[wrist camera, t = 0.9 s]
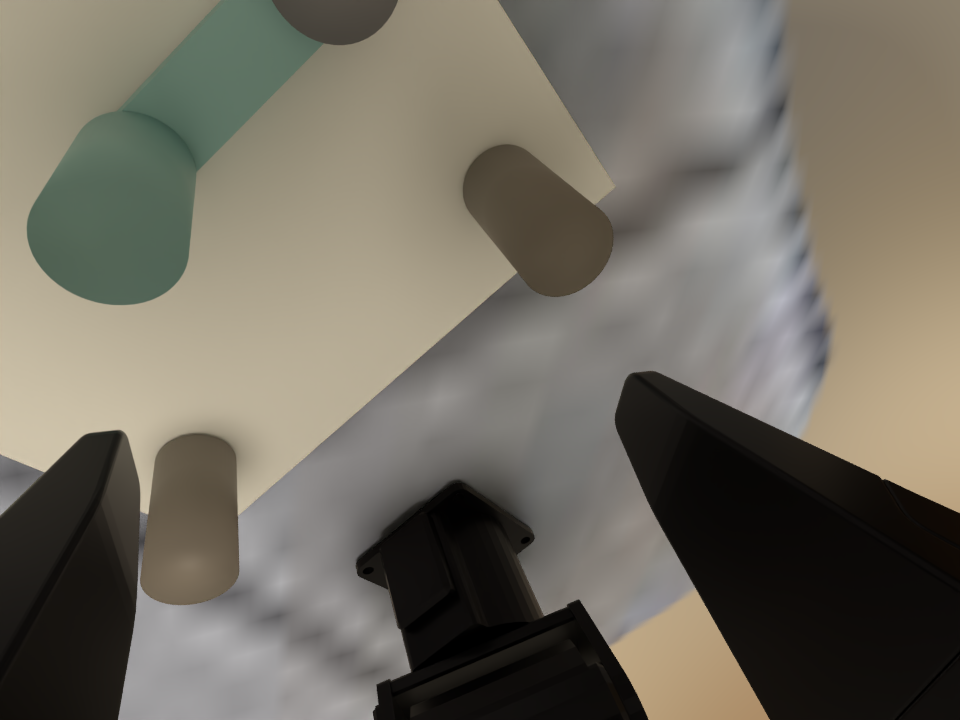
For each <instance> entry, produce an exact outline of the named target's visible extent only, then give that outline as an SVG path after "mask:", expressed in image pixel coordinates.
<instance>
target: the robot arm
mask: <svg viewBox="0 0 960 720" xmlns="http://www.w3.org/2000/svg"><path fill="white" fill-rule="evenodd" d="M615 425H616V429H617V432H618V434H619V436H620V439H621V441H622V443H623V446H624V448H625V450H626V453H627V455H628V457H629V459H630V462H631V464H632V466H633V469H634V471H635V473H636V476H637V478H638V480H639V482H640V485H641V487H642V489H643V492H644V494H645V496H646V498H647V501H648V503H649V505H650V507H651V509H652V511H653V513H654V515H655V517H656V519H657V520H658V522H659V524H660V526H661V528H662V530H663V531H664V533H665V535H666V537H667V538H668V540H669V542H670V544H671V545H672V547H673V549H674V551H675V553H676V554H677V556H678V558H679V560H680V561H681V563H682V565H683V567H684V568H685V570H686V572H687V574H688V576H689V577H690V579H691V581H692V583H693V584H694V586H695V588H696V590H697V591H698V593H699V595H700V596H701V598H702V600H703V602H704V603H705V606H706V607H707V609H708V611H709V613H710V614H711V616H712V618H713V620H714V621H715V623H716V625H717V627H718V629H719V630H720V632H721V634H722V636H723V637H724V639H725V641H726V643H727V645H728V646H729V648H730V650H731V652H732V653H733V655H734V657H735V659H736V660H737V662H738V663H739V666H740V667H741V669H742V671H743V673H744V674H745V676H746V678H747V680H748V682H749V683H750V685H751V687H752V688H753V691H754V692H755V694H756V696H757V698H758V699H759V701H760V703H761V705H762V706H763V708H764V710H765V712H766V714H767V715H768V717H769V719H770V720H960V513H958V512H956V511H954V510H951V509H949V508H947V507H944V506H943V505H940V504H938V503H936V502H934V501H931V500H929V499H927V498H925V497H923V496H920V495H918V494H916V493H914V492H912V491H910V490H907V489H905V488H903V487H901V486H899V485H897V484H895V483H893V482H890V481H888V480H886V479H884V480H882V479H881V478H880V477H879V476H877V475H875V474H873V473H871V472H869V471H867V470H865V469H862V468H860V467H858V466H856V465H854V464H852V463H850V462H848V461H845V460H843V459H841V458H839V457H837V456H835V455H833V454H830V453H828V452H826V451H824V450H822V449H820V448H818V447H816V446H813V445H811V444H809V443H807V442H805V441H803V440H801V439H799V438H796V437H794V436H792V435H790V434H788V433H786V432H784V431H781V430H779V429H777V428H775V427H773V426H771V425H769V424H767V423H764V422H762V421H760V420H758V419H756V418H754V417H752V416H750V415H747V414H745V413H743V412H741V411H739V410H737V409H735V408H732V407H730V406H728V405H726V404H724V403H722V402H720V401H718V400H715V399H713V398H711V397H709V396H707V395H705V394H703V393H701V392H698V391H696V390H694V389H692V388H690V387H688V386H686V385H683V384H681V383H679V382H677V381H675V380H673V379H671V378H669V377H666V376H664V375H662V374H660V373H658V372H655V371H645V372H636V373H632V374H630V375H629V376H628V377H627V378H626V380H625V383H624V386H623V389H622V393H621V396H620V399H619V403H618V406H617V409H616V413H615ZM458 493H459V494H458ZM456 494H457V495H456ZM139 526H140V483H139V478H138V474H137V470H136V466H135V462H134V459H133V455H132V451H131V447H130V444H129V440H128V437H127V435H126V434H125V432H123V431H121V430H111V431H102V432H93V433H88V434H85V435H83V436H82V437H81V438H79V439H78V440H77V441H76V442H75V443H74V444H73V445H72V446H71V447H70V448H69V449H68V450H67V451H66V452H65V453H64V454H63V455H62V456H61V457H60V458H59V459H58V460H57V461H56V462H55V463H54V464H53V465H52V466H51V467H50V468H49V469H48V470H47V471H46V472H45V473H44V474H43V475H42V476H41V477H39V478H38V479H37V480H36V481H35V482H34V483H33V484H32V485H31V486H30V487H29V488H28V489H27V490H26V491H25V492H24V493H23V494H22V495H21V496H20V497H19V498H18V499H17V500H16V501H15V502H14V503H13V504H12V505H11V506H10V507H9V508H8V509H7V510H6V511H5V512H4V513H3V514H2V515H1V516H0V720H118V716H119V710H120V704H121V699H122V693H123V687H124V681H125V675H126V670H127V664H128V658H129V652H130V646H131V640H132V635H133V628H134V621H135V614H136V600H137V581H138V554H139ZM534 539H535V538H534V534H533V532H532V530H531V529H530V528H529V527H528V526H526V525H525V524H523V523H522V522H520V521H519V520H517V519H516V518H514V517H513V516H511V515H510V514H508V513H507V512H505V511H504V510H502V509H501V508H499V507H498V506H496V505H495V504H493V503H492V502H490V501H489V500H488V499H486V498H485V497H483V496H482V495H480V494H479V493H477V492H476V491H474V490H473V489H471V488H470V487H468V486H467V485H465V484H463V483H455V484H452V485H451V486H449V487H448V488H447V489H445V490H444V491H443V492H442V493H440V494H439V495H438V496H437V497H436V498H434V499H433V500H432V501H431V502H429V503H428V504H427V505H426V506H425V507H423V508H422V509H421V510H420V511H418V512H417V513H416V514H415V515H414V516H412V517H411V518H410V519H409V520H407V521H406V522H405V523H404V524H403V525H401V526H400V527H399V528H398V529H396V530H395V531H394V532H393V533H392V534H390V535H389V536H388V537H387V538H385V539H384V540H383V541H382V542H381V543H379V544H378V545H377V546H376V547H374V548H373V549H372V550H371V551H370V552H368V553H367V554H366V555H365V556H363V557H362V558H361V559H360V560H359V561H358V562H357V563H356V569H357V574H358V576H359V577H361V578H363V579H366V580H368V581H370V582H372V583H375V584H377V585H379V586H381V587H384V588H386V589H388V590H389V594H390V598H391V602H392V606H393V610H394V614H395V618H396V623H397V626H398V628H399V629H401V633H402V637H403V641H404V645H405V649H406V653H407V657H408V661H409V665H410V669H411V673H409V674H406V675H404V676H401V677H399V678H397V679H394V680H392V681H391V680H390V679H388V680H386V681H383V682H381V683H379V684H377V694H378V703H379V705H377V706H375V707H376V708H375V710H374V711H373V716H374V720H648V717H647V715H646V713H645V711H644V708H643V706H642V704H641V702H640V700H639V698H638V696H637V694H636V692H635V690H634V688H633V686H632V684H631V682H630V681H629V679H628V677H627V675H626V673H625V672H624V670H623V669H622V667H621V665H620V664H619V662H618V661H617V659H616V657H615V656H614V654H613V653H612V651H611V649H610V648H609V646H608V645H607V643H606V641H605V640H604V638H603V637H602V635H601V633H600V632H599V630H598V629H597V627H596V625H595V624H594V622H593V621H592V619H591V617H590V616H589V614H588V613H587V611H586V609H585V608H584V606H583V605H582V603H581V601H580V600H579V599H578V600H576V601H574V602H571V603H569V604H567V607H565V608H563V609H561V610H558V611H556V612H554V613H551V614H549V615H546V616H544V615H543V613H542V611H541V608H540V606H539V604H538V602H537V600H536V597H535V595H534V593H533V591H532V589H531V586H530V584H529V582H528V580H527V577H526V575H525V573H524V571H523V569H522V566H521V564H520V562H519V560H518V558H517V554H518V553H519V552H521V551H522V550H523V549H525V548H526V547H527V546H528V545H530V544H531V543H532V542H533V541H534Z"/></svg>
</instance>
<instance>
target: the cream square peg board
mask: <svg viewBox="0 0 960 720" xmlns="http://www.w3.org/2000/svg"><path fill="white" fill-rule="evenodd" d="M219 2H220V0H0V454H1V455H3V456H6V457H8V458H11V459H13V460H16V461H18V462H21V463H23V464H26V465H28V466H30V467H33V468H35V469H38V470H40V471H43V472H46V471H47V470H48V469H49V468H50V467H51V466H52V465H53V464H54V463H55V462H56V461H57V460H58V459H59V458H60V457H61V456H62V455H63V454H64V453H65V452H66V451H67V450H68V449H69V448H70V447H71V446H72V445H73V444H74V443H75V442H76V441H77V440H78V439H79V438H81V437H82V436H83V435H85V434H88V433H93V432H102V431H111V430H121V431H123V432H125V434H126V435H127V437H128V440H129V444H130V447H131V451H132V455H133V459H134V462H135V466H136V470H137V474H138V478H139V483H140V511H141V512H144V513H146V514H148V520H147V529H146V537H145V545H144V553H143V561H142V570H141V578H140V583H141V587H142V589H143V590H144V592H145V593H146V594H147V595H148V596H150V597H151V598H153V599H155V600H157V601H159V602H162V603H166V604H172V605H190V604H197V603H201V602H205V601H208V600H211V599H213V598H215V597H217V596H220V595H221V594H223V593H224V592H226V591H227V590H228V589H229V588H230V587H232V585H233V584H234V583H235V581H236V580H237V578H238V575H239V543H238V515H239V514H240V513H242V512H243V511H244V510H245V509H246V508H247V507H248V506H250V505H251V504H252V503H253V502H254V501H255V500H256V499H258V498H259V497H260V496H261V495H262V494H263V493H265V492H266V491H267V490H268V489H269V488H270V487H271V486H273V485H274V484H275V483H276V482H277V481H278V480H279V479H281V478H282V477H283V476H284V475H285V474H286V473H287V472H289V471H290V470H291V469H292V468H293V467H294V466H296V465H297V464H298V463H299V462H300V461H301V460H302V459H304V458H305V457H306V456H307V455H308V454H309V453H310V452H312V451H313V450H314V449H315V448H316V447H317V446H319V445H320V444H321V443H322V442H323V441H324V440H325V439H327V438H328V437H329V436H330V435H331V434H332V433H333V432H335V431H336V430H337V429H338V428H339V427H340V426H341V425H343V424H344V423H345V422H346V421H347V420H348V419H350V418H351V417H352V416H353V415H354V414H355V413H356V412H358V411H359V410H360V409H361V408H362V407H363V406H364V405H366V404H367V403H368V402H369V401H370V400H371V399H372V398H374V397H375V396H376V395H377V394H378V393H379V392H381V391H382V390H383V389H384V388H385V387H386V386H387V385H389V384H390V383H391V382H392V381H393V380H394V379H395V378H397V377H398V376H399V375H400V374H401V373H402V372H404V371H405V370H406V369H407V368H408V367H409V366H410V365H412V364H413V363H414V362H415V361H416V360H417V359H418V358H420V357H421V356H422V355H423V354H424V353H425V352H426V351H428V350H429V349H430V348H431V347H432V346H433V345H435V344H436V343H437V342H438V341H439V340H440V339H441V338H443V337H444V336H445V335H446V334H447V333H448V332H449V331H451V330H452V329H453V328H454V327H455V326H456V325H457V324H459V323H460V322H461V321H462V320H463V319H464V318H466V317H467V316H468V315H469V314H470V313H471V312H472V311H474V310H475V309H476V308H477V307H478V306H479V305H480V304H482V303H483V302H484V301H485V300H486V299H487V298H489V297H490V296H491V295H492V294H493V293H494V292H495V291H497V290H498V289H499V288H500V287H501V286H502V285H503V284H505V283H506V282H507V281H508V280H509V279H510V278H511V277H513V276H514V275H515V274H516V273H517V272H518V273H519V275H520V276H521V277H522V278H523V280H524V281H525V282H526V283H527V285H528V286H529V287H530V288H531V289H533V290H534V291H535V292H537V293H539V294H542V295H545V296H551V297H559V296H565V295H569V294H572V293H575V292H577V291H579V290H581V289H583V288H584V287H586V286H587V285H588V284H590V283H591V282H592V281H593V280H594V279H595V278H596V277H597V276H598V275H599V274H600V273H601V271H602V270H603V268H604V267H605V265H606V263H607V262H608V259H609V257H610V254H611V251H612V246H613V230H612V226H611V223H610V221H609V219H608V217H607V216H606V215H605V214H604V212H602V211H601V210H600V209H599V208H598V207H596V206H595V204H596V203H598V202H599V201H600V200H601V199H602V198H603V197H605V196H606V195H607V194H608V193H609V192H610V191H611V190H613V189H614V188H615V185H614V183H613V182H612V180H611V179H610V177H609V175H608V174H607V172H606V171H605V169H604V168H603V166H602V164H601V163H600V161H599V160H598V158H597V157H596V155H595V153H594V152H593V150H592V149H591V147H590V145H589V144H588V142H587V141H586V139H585V138H584V136H583V134H582V133H581V131H580V130H579V128H578V126H577V125H576V123H575V122H574V120H573V119H572V117H571V115H570V114H569V112H568V111H567V109H566V107H565V106H564V104H563V103H562V101H561V100H560V98H559V96H558V95H557V93H556V92H555V90H554V89H553V87H552V85H551V84H550V82H549V81H548V79H547V77H546V76H545V74H544V73H543V71H542V70H541V68H540V66H539V65H538V63H537V62H536V60H535V58H534V57H533V55H532V54H531V52H530V51H529V49H528V47H527V46H526V44H525V43H524V41H523V39H522V38H521V36H520V35H519V33H518V32H517V30H516V28H515V27H514V25H513V24H512V22H511V20H510V19H509V17H508V16H507V14H506V13H505V11H504V9H503V8H502V6H501V5H500V3H499V2H498V0H398V2H397V4H396V7H395V9H394V11H393V13H392V15H391V16H390V18H389V19H388V21H387V22H386V23H385V24H384V25H383V27H382V28H381V29H379V30H378V31H377V32H376V33H375V34H373V35H372V36H370V37H369V38H367V39H365V40H363V41H360V42H357V43H354V44H349V45H330V44H325V43H324V44H323V45H322V46H321V47H320V48H319V49H318V50H317V51H316V52H315V53H314V54H313V55H312V56H311V57H310V58H309V59H308V60H307V61H306V62H305V63H304V64H303V65H302V66H301V67H300V68H299V69H298V70H297V71H296V72H295V73H294V74H293V75H292V76H291V77H290V78H289V79H288V80H287V81H286V82H285V83H284V84H283V85H282V86H281V87H280V88H279V89H278V90H277V91H276V92H275V93H274V94H273V95H272V96H271V97H270V98H269V99H268V100H267V101H266V102H265V103H264V104H263V105H262V107H261V108H260V109H259V110H258V111H257V112H256V113H255V114H254V115H253V116H252V117H251V118H250V119H249V120H248V121H247V122H246V123H245V124H244V125H243V126H242V127H241V128H240V129H239V130H238V131H237V132H236V133H235V134H234V135H233V136H232V137H231V138H230V139H229V140H228V141H227V142H226V143H225V144H224V145H223V146H222V147H221V148H220V149H219V150H218V151H217V152H216V153H215V154H214V155H213V156H212V157H211V158H210V159H209V160H208V161H207V162H206V163H205V164H204V165H203V166H202V167H201V168H200V169H199V170H198V171H197V172H196V186H195V197H194V207H193V217H192V228H191V238H190V248H189V259H188V263H187V266H186V269H185V271H184V273H183V275H182V276H181V278H180V280H179V281H178V282H177V283H176V284H175V285H174V286H173V287H172V288H171V289H170V290H169V291H167V292H166V293H164V294H163V295H161V296H159V297H157V298H155V299H153V300H150V301H147V302H144V303H139V304H133V305H109V304H102V303H97V302H93V301H90V300H87V299H84V298H81V297H79V296H77V295H74V294H73V293H71V292H69V291H67V290H65V289H64V288H62V287H61V286H59V285H58V284H57V283H55V282H54V281H53V280H52V279H51V278H50V277H49V276H48V275H47V274H46V273H45V272H44V271H43V270H42V269H41V267H40V266H39V265H38V263H37V262H36V260H35V258H34V256H33V255H32V252H31V250H30V247H29V244H28V239H27V228H26V227H27V220H28V216H29V213H30V210H31V208H32V206H33V204H34V202H35V201H36V199H37V198H38V196H39V195H40V193H41V191H42V190H43V188H44V187H45V185H46V183H47V182H48V180H49V179H50V177H51V176H52V174H53V172H54V171H55V169H56V168H57V166H58V165H59V163H60V161H61V160H62V158H63V157H64V155H65V153H66V152H67V150H68V149H69V147H70V146H71V144H72V142H73V141H74V139H75V138H76V136H77V134H78V133H79V132H80V130H81V129H82V128H83V126H85V125H86V124H87V123H88V122H89V121H91V120H92V119H94V118H95V117H98V116H100V115H102V114H106V113H109V112H116V111H117V110H118V109H119V108H120V107H121V106H122V105H123V104H124V103H125V102H126V101H127V100H128V99H129V98H130V96H131V95H132V94H133V93H134V92H135V91H136V90H137V89H138V88H139V87H140V86H141V85H142V84H143V83H144V82H145V80H146V79H147V78H148V77H149V76H150V75H151V74H152V73H153V72H154V71H155V70H156V69H157V68H158V67H159V66H160V64H161V63H162V62H163V61H164V60H165V59H166V58H167V57H168V56H169V55H170V54H171V53H172V52H173V51H174V50H175V48H176V47H177V46H178V45H179V44H180V43H181V42H182V41H183V40H184V39H185V38H186V37H187V36H188V35H189V34H190V32H191V31H192V30H193V29H194V28H195V27H196V26H197V25H198V24H199V23H200V22H201V21H202V20H203V19H204V18H205V16H206V15H207V14H208V13H209V12H210V11H211V10H212V9H213V8H214V7H215V6H216V5H217V4H218V3H219Z"/></svg>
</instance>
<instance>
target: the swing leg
mask: <svg viewBox="0 0 960 720" xmlns="http://www.w3.org/2000/svg"><path fill="white" fill-rule="evenodd" d="M397 2H398V0H220V2H219V3H218V4H217V5H216V6H215V7H214V8H213V9H212V10H211V11H210V12H209V13H208V14H207V15H206V16H205V18H204V19H203V20H202V21H201V22H200V23H199V24H198V25H197V26H196V27H195V28H194V29H193V30H192V31H191V32H190V34H189V35H188V36H187V37H186V38H185V39H184V40H183V41H182V42H181V43H180V44H179V45H178V46H177V47H176V48H175V50H174V51H173V52H172V53H171V54H170V55H169V56H168V57H167V58H166V59H165V60H164V61H163V62H162V63H161V64H160V66H159V67H158V68H157V69H156V70H155V71H154V72H153V73H152V74H151V75H150V76H149V77H148V78H147V79H146V80H145V82H144V83H143V84H142V85H141V86H140V87H139V88H138V89H137V90H136V91H135V92H134V93H133V94H132V95H131V96H130V98H129V99H128V100H127V101H126V102H125V103H124V104H123V105H122V106H121V107H120V108H119V109H118V110H117V111H116V112H109V113H106V114H102V115H100V116H98V117H95V118H94V119H92V120H91V121H89V122H88V123H87V124H86V125H85V126H83V128H82V129H81V130H80V132H79V133H78V134H77V136H76V138H75V139H74V141H73V142H72V144H71V146H70V147H69V149H68V150H67V152H66V153H65V155H64V157H63V158H62V160H61V161H60V163H59V165H58V166H57V168H56V169H55V171H54V172H53V174H52V176H51V177H50V179H49V180H48V182H47V183H46V185H45V187H44V188H43V190H42V191H41V193H40V195H39V196H38V198H37V199H36V201H35V202H34V204H33V206H32V208H31V210H30V213H29V216H28V220H27V227H26V228H27V239H28V244H29V247H30V250H31V252H32V255H33V256H34V258H35V260H36V262H37V263H38V265H39V266H40V267H41V269H42V270H43V271H44V272H45V273H46V274H47V275H48V276H49V277H50V278H51V279H52V280H53V281H54V282H55V283H57V284H58V285H59V286H61V287H62V288H64V289H65V290H67V291H69V292H71V293H73V294H74V295H77V296H79V297H81V298H84V299H87V300H90V301H93V302H97V303H102V304H109V305H133V304H139V303H144V302H147V301H150V300H153V299H155V298H157V297H159V296H161V295H163V294H164V293H166V292H167V291H169V290H170V289H171V288H172V287H173V286H174V285H175V284H176V283H177V282H178V281H179V280H180V278H181V276H182V275H183V273H184V271H185V269H186V266H187V263H188V259H189V248H190V238H191V228H192V217H193V207H194V197H195V186H196V172H197V171H198V170H199V169H200V168H201V167H202V166H203V165H204V164H205V163H206V162H207V161H208V160H209V159H210V158H211V157H212V156H213V155H214V154H215V153H216V152H217V151H218V150H219V149H220V148H221V147H222V146H223V145H224V144H225V143H226V142H227V141H228V140H229V139H230V138H231V137H232V136H233V135H234V134H235V133H236V132H237V131H238V130H239V129H240V128H241V127H242V126H243V125H244V124H245V123H246V122H247V121H248V120H249V119H250V118H251V117H252V116H253V115H254V114H255V113H256V112H257V111H258V110H259V109H260V108H261V107H262V105H263V104H264V103H265V102H266V101H267V100H268V99H269V98H270V97H271V96H272V95H273V94H274V93H275V92H276V91H277V90H278V89H279V88H280V87H281V86H282V85H283V84H284V83H285V82H286V81H287V80H288V79H289V78H290V77H291V76H292V75H293V74H294V73H295V72H296V71H297V70H298V69H299V68H300V67H301V66H302V65H303V64H304V63H305V62H306V61H307V60H308V59H309V58H310V57H311V56H312V55H313V54H314V53H315V52H316V51H317V50H318V49H319V48H320V47H321V46H322V45H323V44H324V43H325V44H330V45H349V44H354V43H357V42H360V41H363V40H365V39H367V38H369V37H370V36H372V35H373V34H375V33H376V32H377V31H378V30H379V29H381V28H382V27H383V25H384V24H385V23H386V22H387V21H388V19H389V18H390V16H391V15H392V13H393V11H394V9H395V7H396V4H397Z"/></svg>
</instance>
